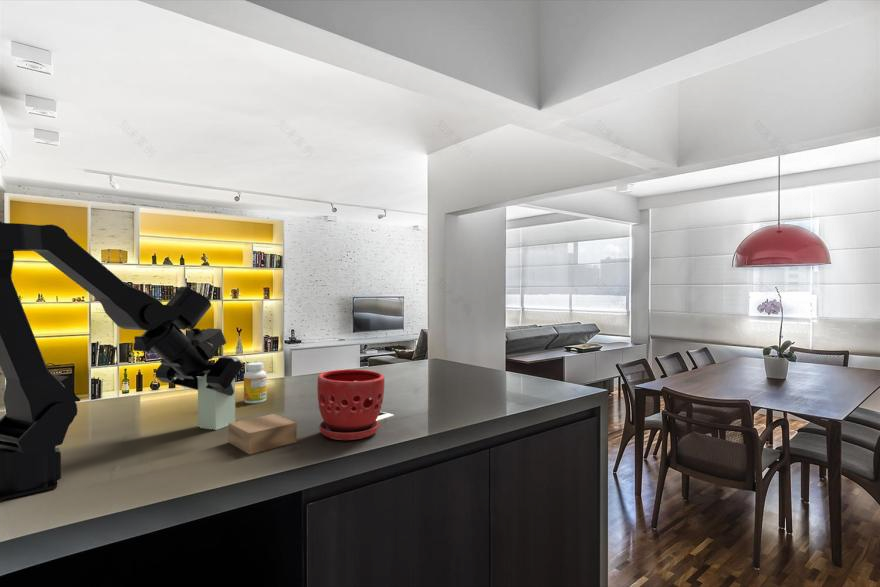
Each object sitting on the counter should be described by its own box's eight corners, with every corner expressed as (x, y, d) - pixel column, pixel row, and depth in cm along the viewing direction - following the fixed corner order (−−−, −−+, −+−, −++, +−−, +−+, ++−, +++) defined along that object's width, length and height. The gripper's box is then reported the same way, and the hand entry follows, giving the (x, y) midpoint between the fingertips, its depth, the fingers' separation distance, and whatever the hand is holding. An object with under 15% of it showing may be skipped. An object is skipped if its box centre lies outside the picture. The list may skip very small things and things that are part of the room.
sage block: (216, 430, 94) (215, 366, 94) (198, 427, 96) (197, 365, 96) (235, 423, 98) (234, 362, 98) (218, 421, 100) (217, 361, 100)
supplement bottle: (243, 399, 120) (243, 362, 120) (265, 397, 122) (265, 361, 122) (244, 404, 115) (244, 365, 115) (267, 402, 117) (267, 364, 117)
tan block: (249, 456, 80) (249, 433, 80) (228, 444, 86) (228, 423, 86) (296, 443, 87) (296, 422, 87) (274, 433, 93) (274, 413, 93)
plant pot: (322, 448, 83) (322, 382, 83) (313, 428, 95) (313, 370, 95) (392, 439, 88) (392, 377, 88) (375, 421, 100) (375, 366, 100)
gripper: (234, 317, 90) (275, 364, 100) (168, 315, 97) (212, 359, 107) (200, 363, 82) (248, 409, 93) (131, 357, 90) (182, 401, 100)
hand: (222, 392), depth 98 cm, fingers closed on sage block, 5 cm apart
